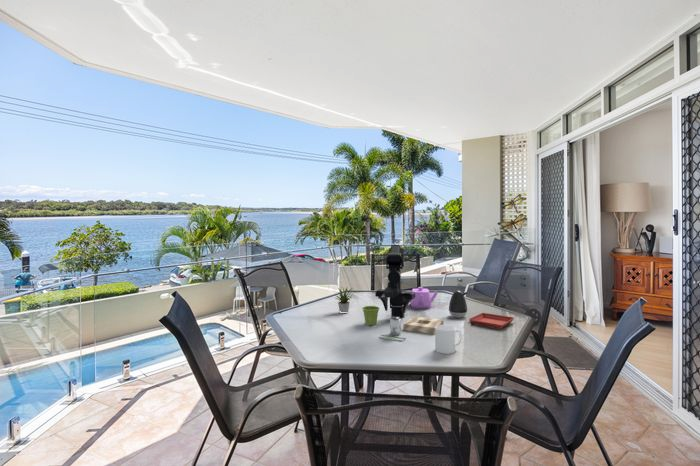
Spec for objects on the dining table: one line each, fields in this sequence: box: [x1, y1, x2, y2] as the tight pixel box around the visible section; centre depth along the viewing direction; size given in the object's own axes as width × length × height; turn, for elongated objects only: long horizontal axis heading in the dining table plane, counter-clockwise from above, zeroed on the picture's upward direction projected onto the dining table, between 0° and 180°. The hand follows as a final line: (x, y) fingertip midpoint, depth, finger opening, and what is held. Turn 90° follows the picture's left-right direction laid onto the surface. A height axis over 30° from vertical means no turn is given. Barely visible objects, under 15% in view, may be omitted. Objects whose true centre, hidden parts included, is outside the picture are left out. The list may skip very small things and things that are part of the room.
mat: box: [378, 334, 407, 342], centre depth 182 cm, size 12×12×1 cm
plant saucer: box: [468, 312, 515, 330], centre depth 200 cm, size 18×18×3 cm
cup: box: [434, 324, 463, 355], centre depth 162 cm, size 8×12×10 cm
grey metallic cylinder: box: [389, 316, 402, 337], centre depth 182 cm, size 5×5×8 cm
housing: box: [402, 315, 445, 335], centre depth 192 cm, size 16×16×4 cm
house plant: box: [333, 286, 355, 313], centre depth 229 cm, size 14×14×16 cm
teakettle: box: [405, 286, 439, 310], centre depth 242 cm, size 17×17×12 cm
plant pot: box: [362, 305, 380, 326], centre depth 204 cm, size 9×9×9 cm
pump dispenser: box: [448, 290, 468, 319], centre depth 215 cm, size 10×10×15 cm
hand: (395, 311), depth 182 cm, fingers open, 9 cm apart
